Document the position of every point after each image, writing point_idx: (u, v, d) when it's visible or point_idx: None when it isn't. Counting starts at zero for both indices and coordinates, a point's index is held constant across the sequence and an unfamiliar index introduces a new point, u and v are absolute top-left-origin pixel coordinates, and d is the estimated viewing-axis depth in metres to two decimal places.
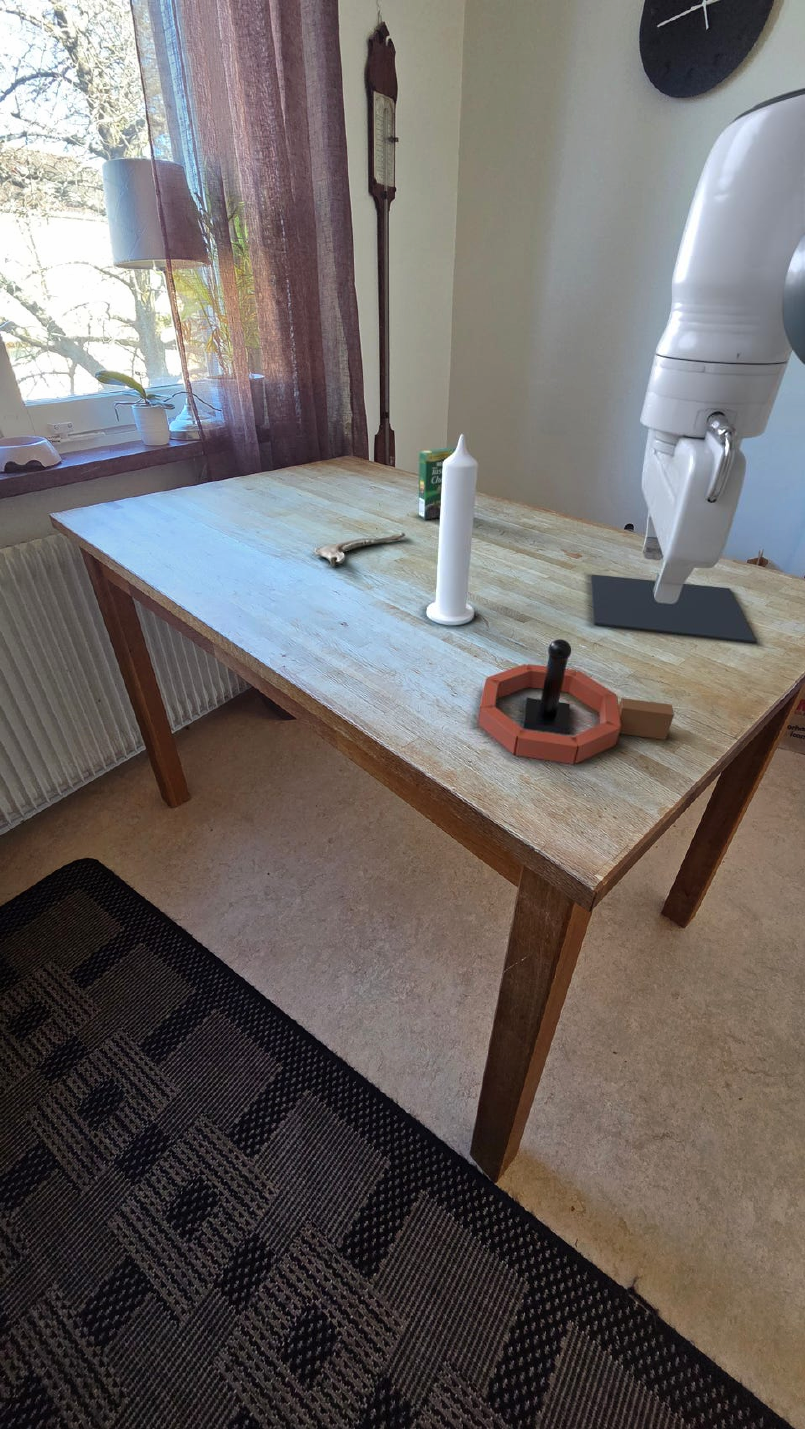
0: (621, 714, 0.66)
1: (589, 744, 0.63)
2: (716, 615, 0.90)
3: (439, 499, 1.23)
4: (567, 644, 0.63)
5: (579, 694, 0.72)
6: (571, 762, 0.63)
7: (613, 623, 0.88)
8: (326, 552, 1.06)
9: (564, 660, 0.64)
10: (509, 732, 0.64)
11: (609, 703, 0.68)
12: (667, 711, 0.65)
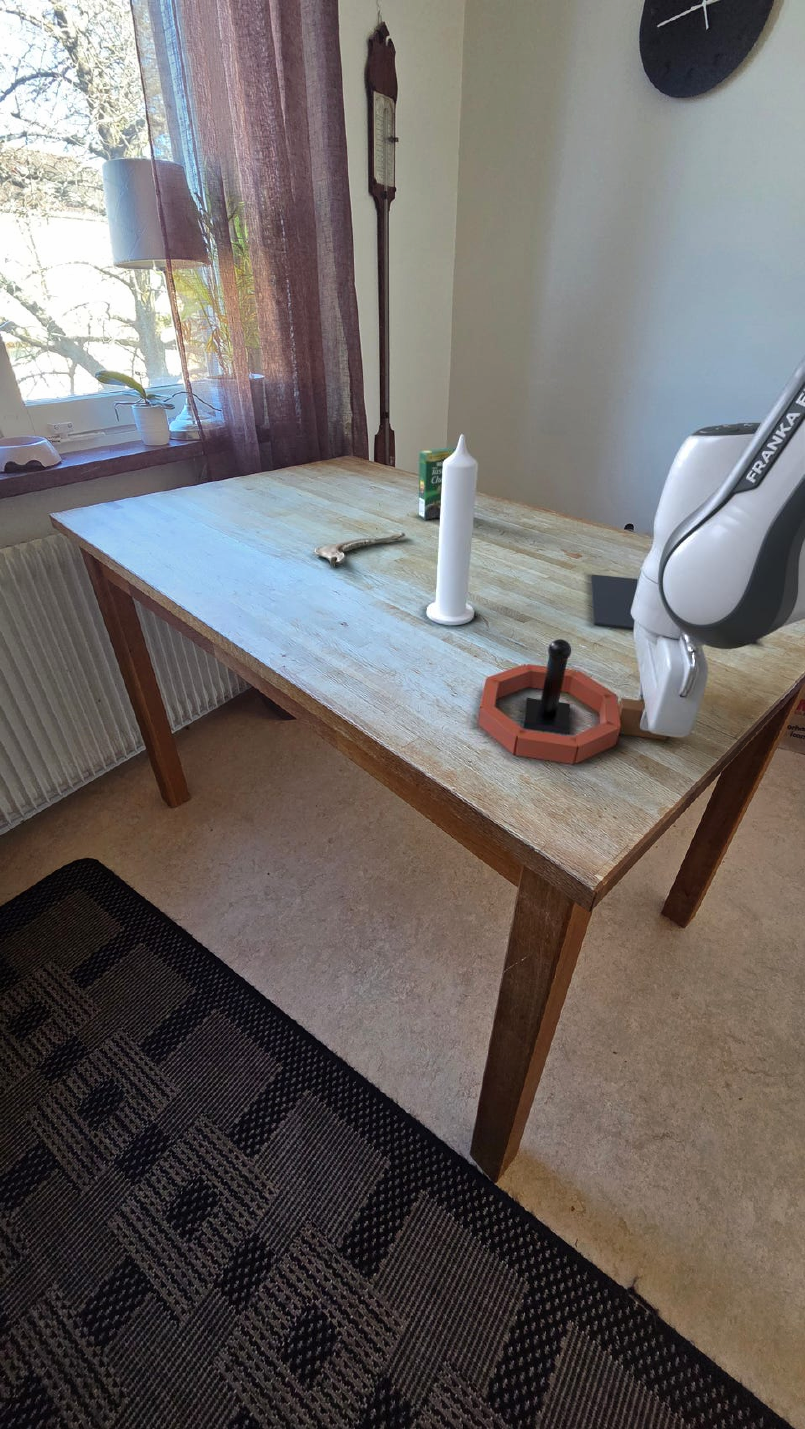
0: (621, 714, 0.66)
1: (589, 744, 0.63)
2: None
3: (439, 499, 1.23)
4: (567, 644, 0.63)
5: (579, 694, 0.72)
6: (571, 762, 0.63)
7: (613, 623, 0.88)
8: (326, 552, 1.06)
9: (564, 660, 0.64)
10: (509, 732, 0.64)
11: (609, 703, 0.68)
12: None
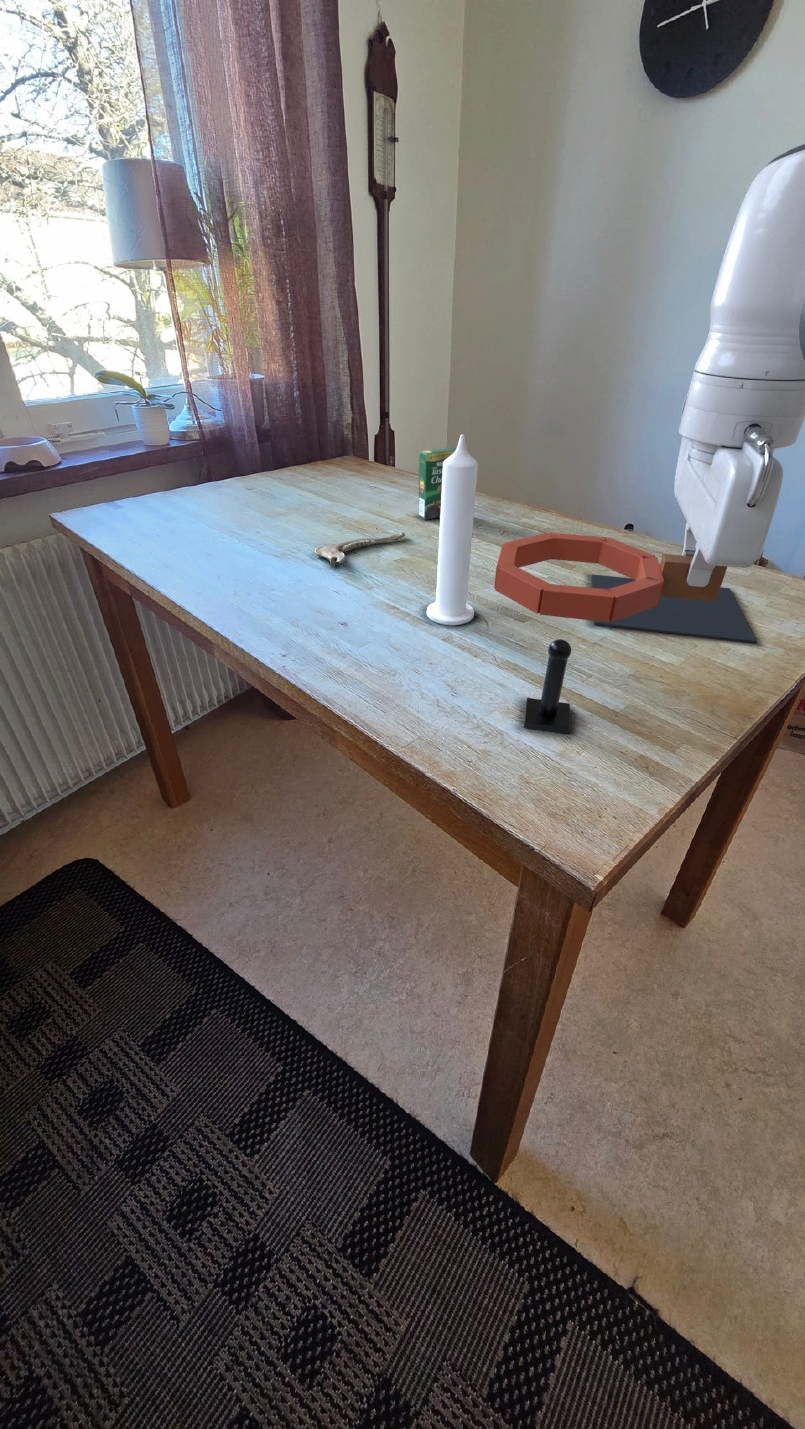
0: (664, 570, 0.56)
1: (628, 597, 0.53)
2: (716, 615, 0.90)
3: (439, 499, 1.23)
4: (567, 644, 0.63)
5: (611, 562, 0.62)
6: (606, 620, 0.53)
7: (613, 623, 0.88)
8: (326, 552, 1.06)
9: (564, 660, 0.64)
10: (532, 586, 0.54)
11: (648, 562, 0.58)
12: None
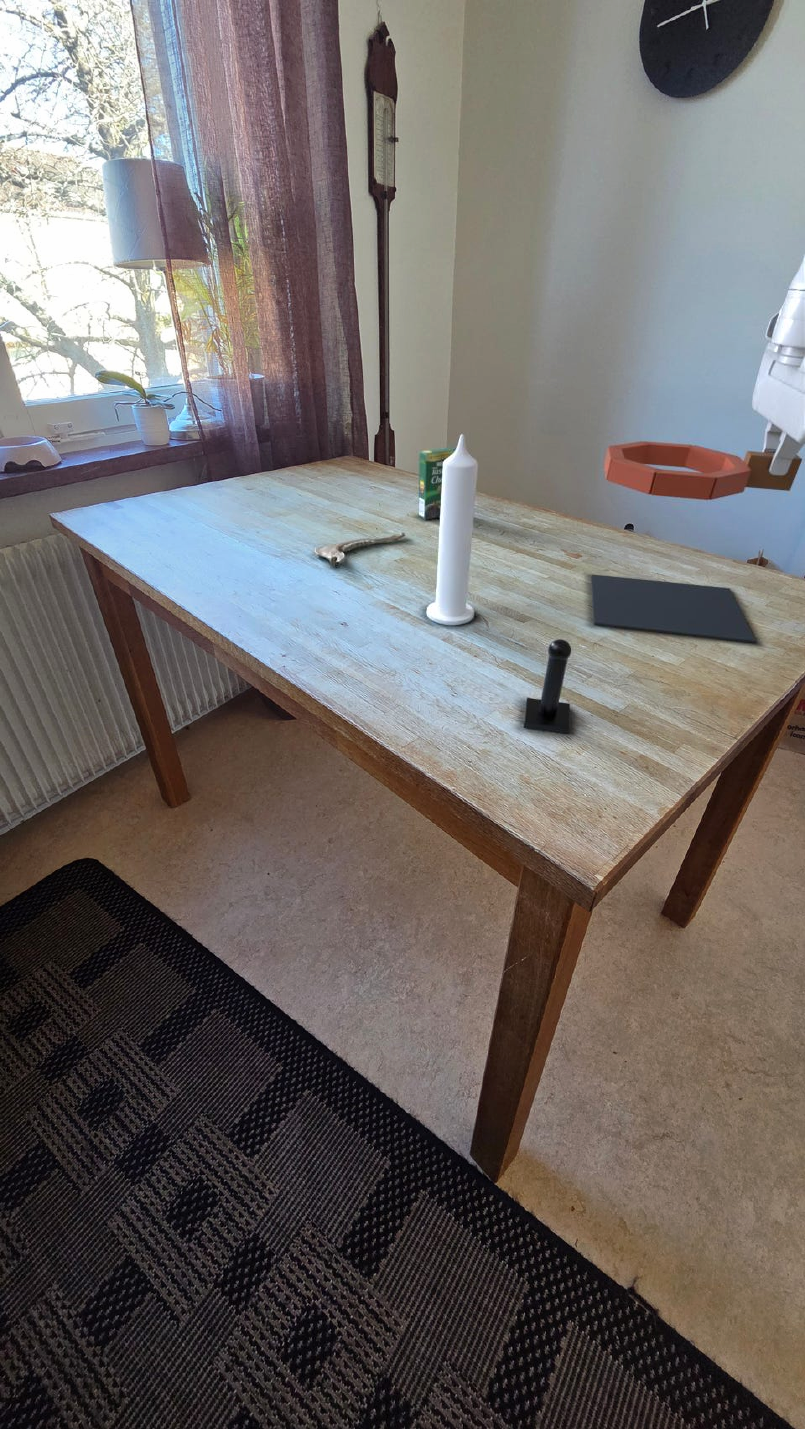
0: (749, 463, 0.68)
1: (725, 479, 0.65)
2: (716, 615, 0.90)
3: (439, 499, 1.23)
4: (567, 644, 0.63)
5: (697, 465, 0.75)
6: (707, 498, 0.65)
7: (613, 623, 0.88)
8: (326, 552, 1.06)
9: (564, 660, 0.64)
10: (646, 470, 0.66)
11: (733, 459, 0.70)
12: (795, 457, 0.67)
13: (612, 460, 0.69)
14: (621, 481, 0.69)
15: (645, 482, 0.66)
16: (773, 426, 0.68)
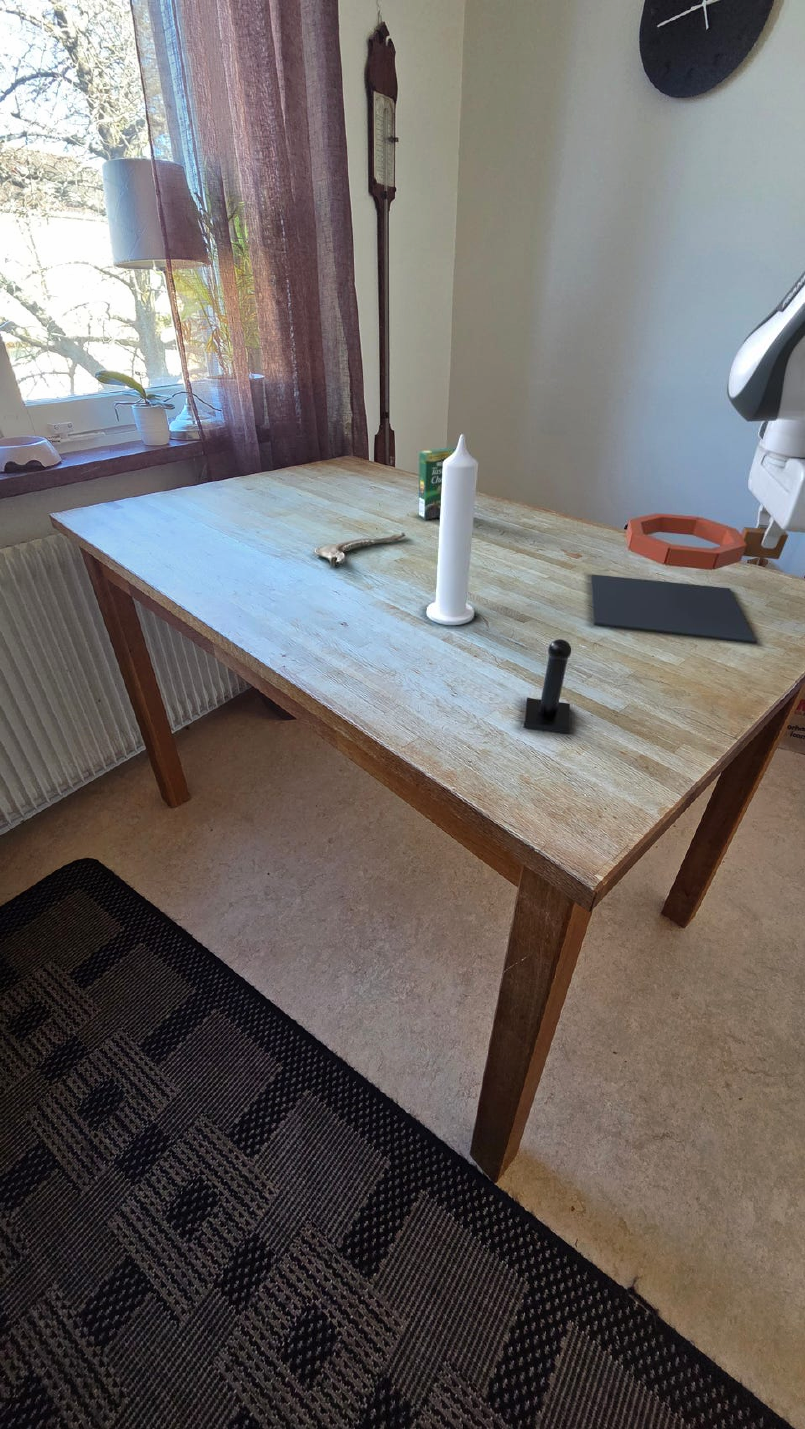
0: (745, 537, 0.84)
1: (725, 553, 0.81)
2: (716, 615, 0.90)
3: (439, 499, 1.23)
4: (567, 644, 0.63)
5: (703, 534, 0.91)
6: (710, 568, 0.81)
7: (613, 623, 0.88)
8: (326, 552, 1.06)
9: (564, 660, 0.64)
10: (661, 546, 0.82)
11: (732, 533, 0.86)
12: None
13: (633, 535, 0.85)
14: (641, 552, 0.85)
15: (660, 555, 0.82)
16: (765, 507, 0.84)
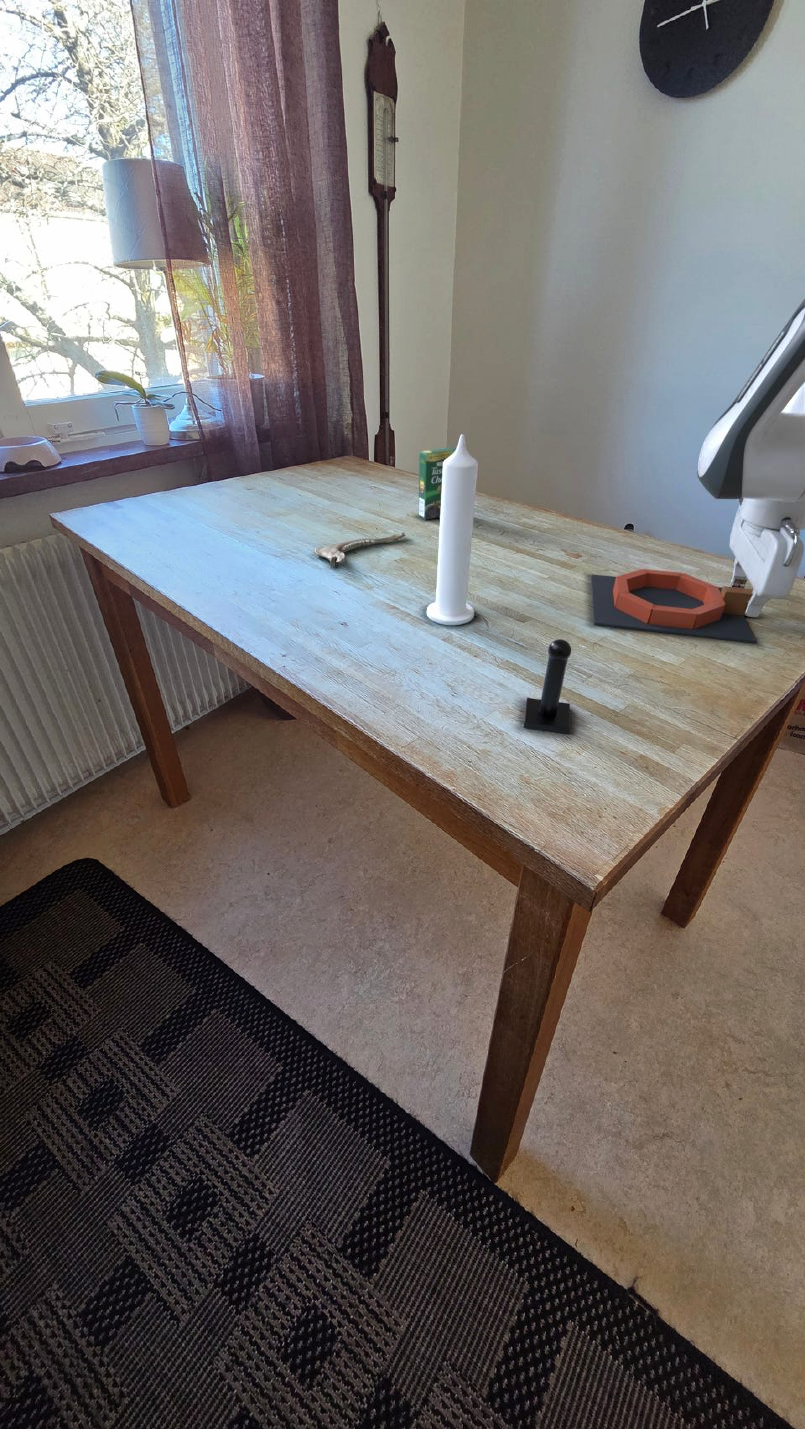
0: (724, 597, 0.89)
1: (705, 614, 0.86)
2: None
3: (439, 499, 1.23)
4: (567, 644, 0.63)
5: (686, 589, 0.96)
6: (691, 627, 0.87)
7: (613, 623, 0.88)
8: (326, 552, 1.06)
9: (564, 660, 0.64)
10: (645, 606, 0.87)
11: (713, 591, 0.92)
12: None
13: (619, 594, 0.91)
14: (626, 610, 0.90)
15: (644, 614, 0.88)
16: None
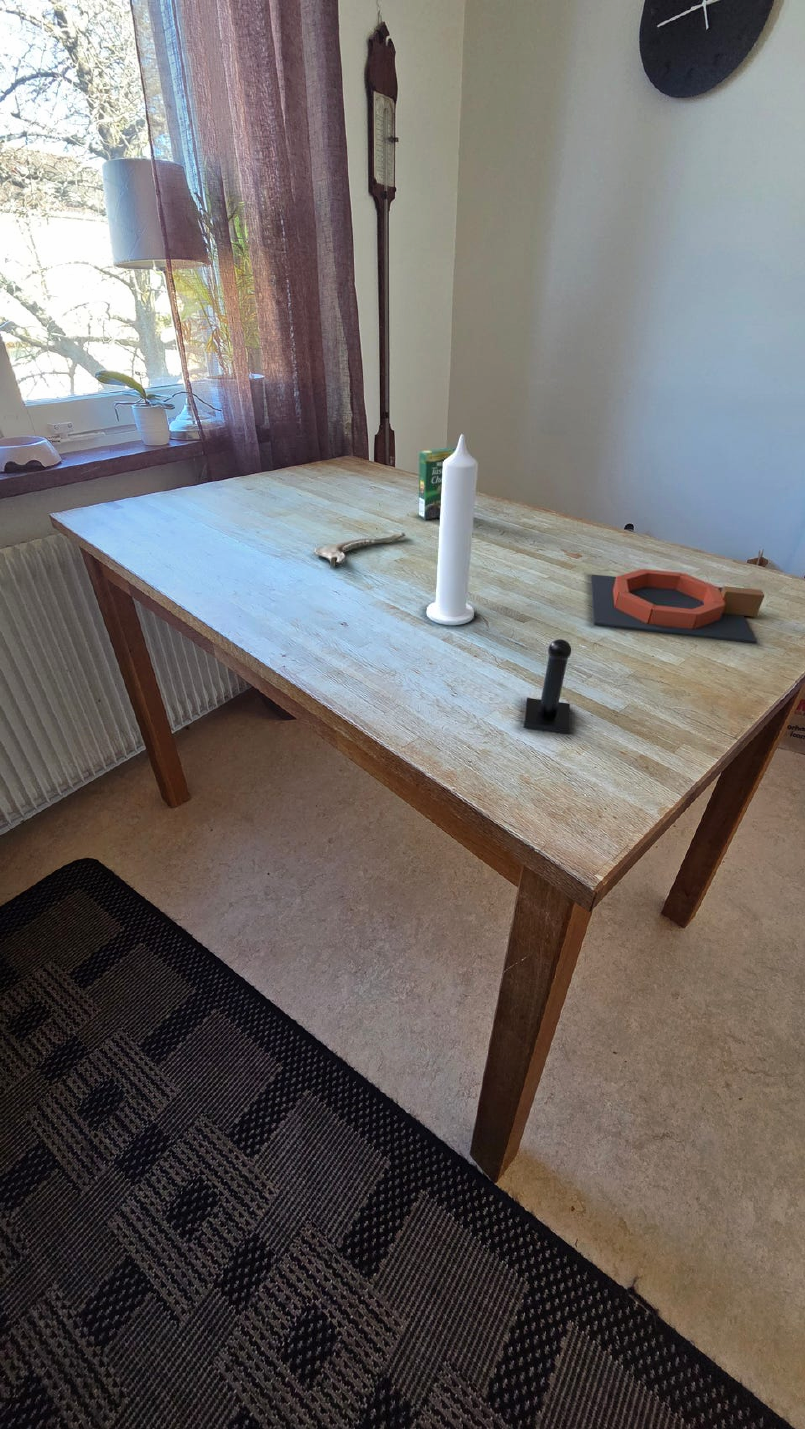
0: (724, 597, 0.89)
1: (705, 614, 0.86)
2: None
3: (439, 499, 1.23)
4: (567, 644, 0.63)
5: (686, 589, 0.96)
6: (691, 627, 0.87)
7: (613, 623, 0.88)
8: (326, 552, 1.06)
9: (564, 660, 0.64)
10: (645, 606, 0.87)
11: (713, 591, 0.92)
12: (759, 593, 0.89)
13: (619, 594, 0.91)
14: (626, 610, 0.90)
15: (644, 614, 0.88)
16: None
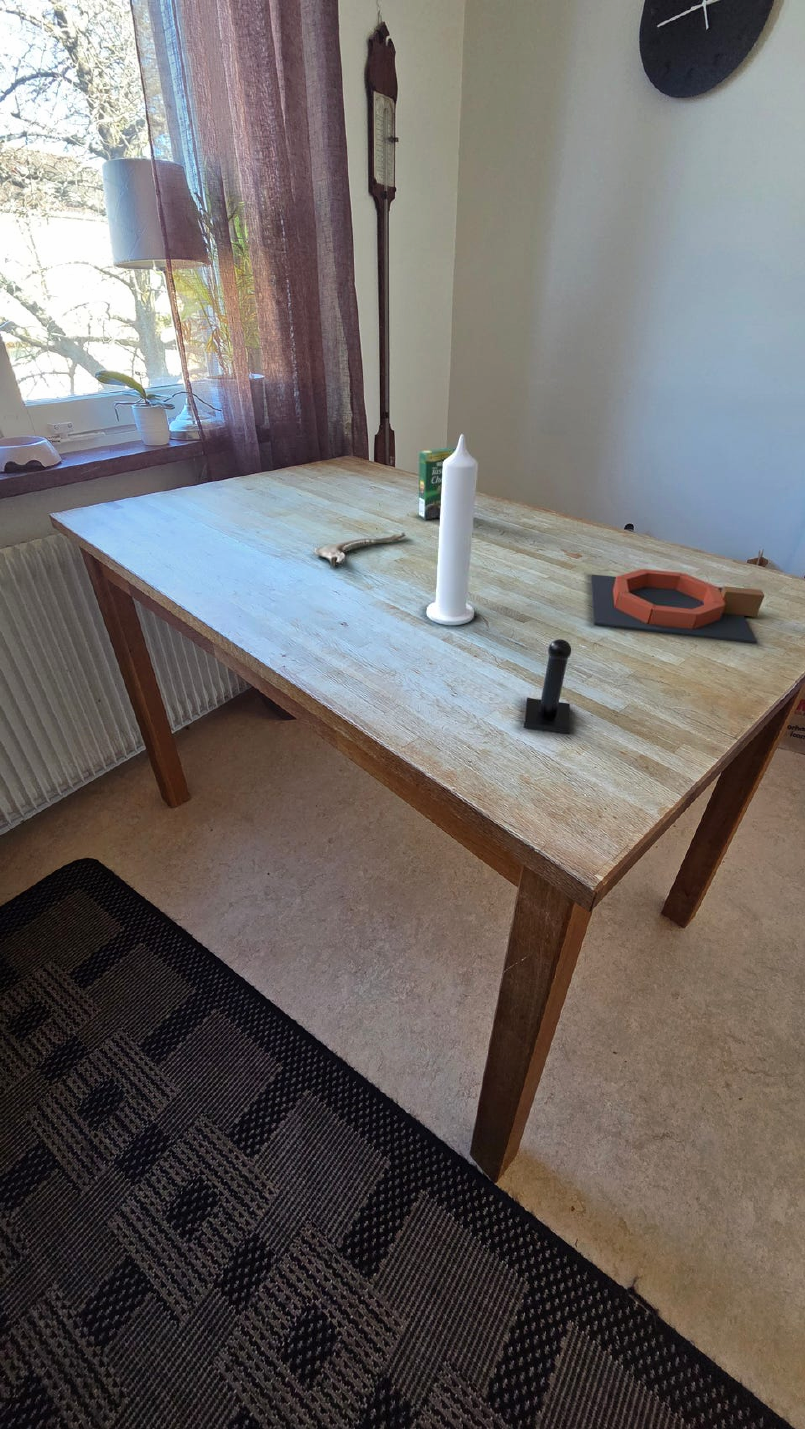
0: (724, 597, 0.89)
1: (705, 614, 0.86)
2: None
3: (439, 499, 1.23)
4: (567, 644, 0.63)
5: (686, 589, 0.96)
6: (691, 627, 0.87)
7: (613, 623, 0.88)
8: (326, 552, 1.06)
9: (564, 660, 0.64)
10: (645, 606, 0.87)
11: (713, 591, 0.92)
12: (759, 593, 0.89)
13: (619, 594, 0.91)
14: (626, 610, 0.90)
15: (644, 614, 0.88)
16: None
